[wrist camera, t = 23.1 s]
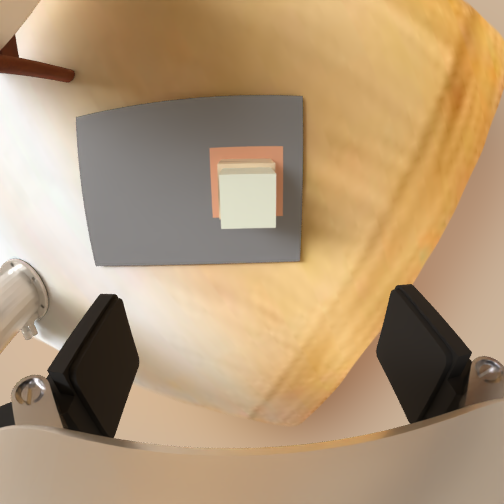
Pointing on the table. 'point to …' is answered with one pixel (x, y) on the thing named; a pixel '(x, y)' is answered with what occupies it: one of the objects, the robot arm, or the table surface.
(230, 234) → the board
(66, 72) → the plant pot with stand
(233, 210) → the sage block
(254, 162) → the maple block
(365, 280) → the table surface
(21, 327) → the robot arm
